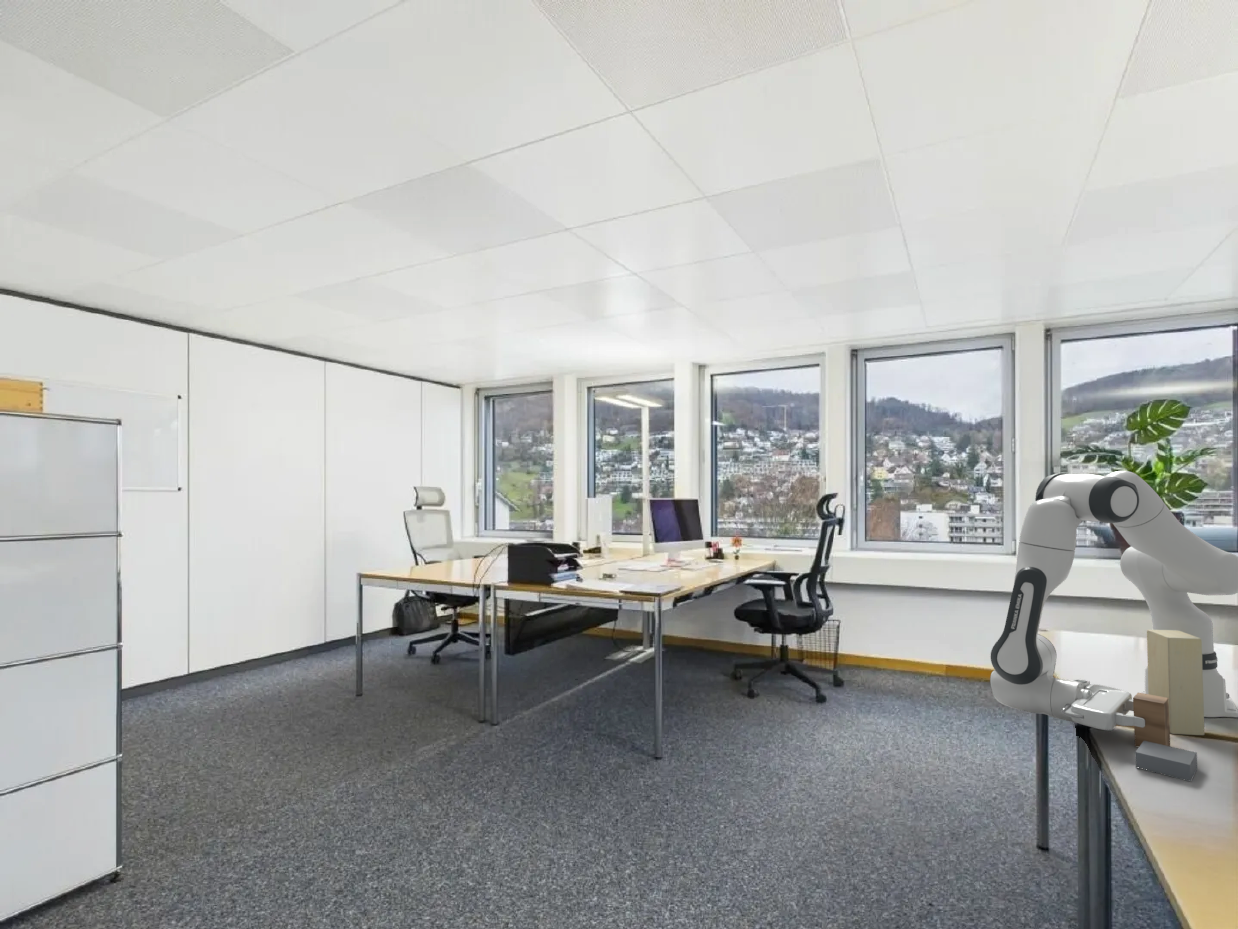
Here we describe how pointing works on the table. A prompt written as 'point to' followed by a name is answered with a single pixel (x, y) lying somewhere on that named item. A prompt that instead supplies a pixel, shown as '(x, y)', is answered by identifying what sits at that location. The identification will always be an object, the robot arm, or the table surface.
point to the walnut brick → (1152, 719)
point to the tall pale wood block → (1177, 678)
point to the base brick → (1166, 760)
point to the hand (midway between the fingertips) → (1150, 716)
